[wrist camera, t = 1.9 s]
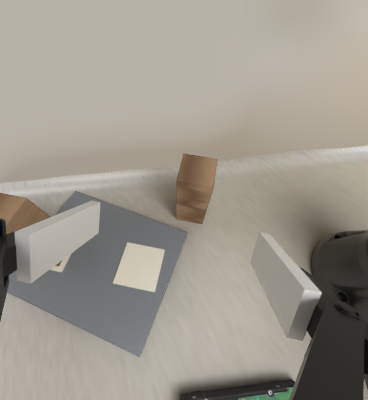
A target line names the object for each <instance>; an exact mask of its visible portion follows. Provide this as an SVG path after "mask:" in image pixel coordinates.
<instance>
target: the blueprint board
mask: <svg viewBox="0 0 368 400" xmlns="http://www.w3.org/2000/svg"><path fill="white" fill-rule="evenodd" d="M89 201H96V202H101V203H100V219H99V233H98V234H96V235H95V236H94V237H92V238H91V239H90V240H88V241H87V242H86V243H84V244H83V245H82V246H80V247H79V248H78V249H76V250H75V251H74V252H72V253H71V254H70V255H68V256H67V257H66V258H64V259H63V260H62V262H61V264H60V266H54V267H52V268H51V269H50V270H48V271H47V272H46V273H44V274H43V275H42V276H40V277H39V278H38V279H36V280H35V281H34V282H32V283H26V282H21V281H17V272H16V271H15V272H13V273H12V274H10V275H9V285H8V290H7V292H8V293H10V294H12V295H14V296H16V297H18V298H20V299H22V300H24V301H26V302H28V303H30V304H32V305H34V306H36V307H39V308H41V309H43V310H45V311H47V312H49V313H51V314H53V315H55V316H57V317H59V318H61V319H63V320H65V321H67V322H69V323H71V324H73V325H75V326H77V327H79V328H81V329H83V330H85V331H87V332H89V333H92V334H94V335H96V336H98V337H100V338H102V339H104V340H106V341H108V342H110V343H112V344H114V345H116V346H118V347H120V348H122V349H124V350H126V351H128V352H130V353H132V354H134V355H136V356H138V357H140V355H141V353H142V350H143V348H144V345H145V343H146V340H147V337H148V335H149V332H150V330H151V327H152V324H153V322H154V319H155V317H156V314H157V311H158V309H159V306H160V304H161V301H162V298H163V296H164V293H165V291H166V288H167V285H168V283H169V280H170V278H171V275H172V273H173V270H174V267H175V265H176V262H177V260H178V257H179V254H180V252H181V249H182V247H183V244H184V241H185V239H186V236H187V233H188V232H185V231H182V230H180V229H177V228H174V227H171V226H169V225H166V224H163V223H161V222H158V221H155V220H153V219H150V218H147V217H144V216H142V215H139V214H136V213H134V212H131V211H128V210H125V209H123V208H120V207H117V206H115V205H112V204H109V203H107V202H104V201H101V200H98V199H96V198H93V197H90V196H88V195H85V194H82V193H80V192H77V191H75V192H74V193H73V195H72V196H71V197H70V198H69V199H68V201H67V202H66V203H65V204H64V205H63V207H62V208H61V209H60V210H59V211H58V213H57V214H60V213H62V212H65V211H67V210H70V209H72V208H75V207H77V206H80V205H82V204H84V203H87V202H89ZM57 214H56V215H57Z"/></svg>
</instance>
